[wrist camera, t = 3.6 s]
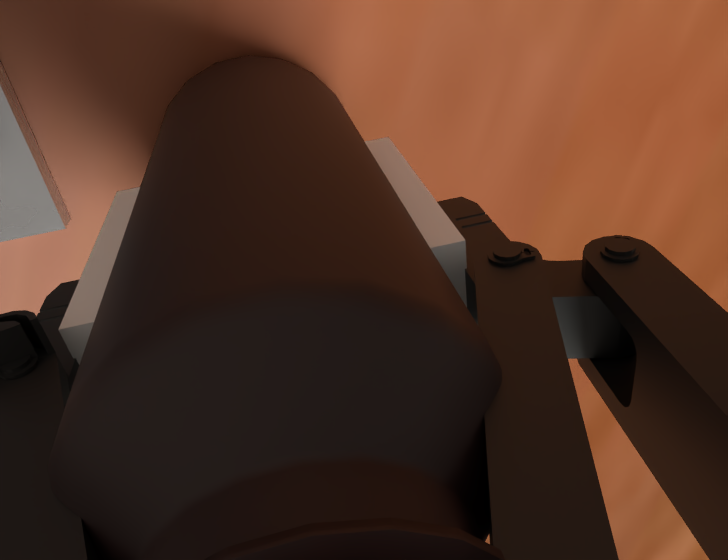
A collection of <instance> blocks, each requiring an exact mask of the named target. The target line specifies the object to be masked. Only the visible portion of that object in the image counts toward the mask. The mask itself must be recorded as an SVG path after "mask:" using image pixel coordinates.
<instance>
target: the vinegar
mask: <svg viewBox="0 0 728 560" xmlns="http://www.w3.org/2000/svg"><path fill="white" fill-rule="evenodd" d="M501 383H502V369H501V367H500V364H499V362H498V360H497V358H496V356H495V354H494V352H493V350H492V348H491V347H490V345H489V343H488V341H487V339H486V338H485V336H484V334H483V333H482V331H481V330H480V328H479V326H478V325H477V323H476V321H475V320H474V318H473V317H472V315H471V313H470V312H469V310H468V308H467V307H466V305H465V304H464V302H463V300H462V299H461V297H460V296H459V294H458V292H457V291H456V289H455V287H454V286H453V284H452V283H451V281H450V279H449V278H448V276H447V274H446V273H445V271H444V270H443V268H442V266H441V265H440V263H439V262H438V260H437V258H436V257H435V255H434V253H433V252H432V250H431V249H430V247H429V245H428V244H427V242H426V240H425V239H424V237H423V236H422V234H421V232H420V231H419V229H418V228H417V226H416V224H415V223H414V221H413V219H412V218H411V216H410V215H409V213H408V211H407V210H406V208H405V206H404V205H403V203H402V202H401V200H400V198H399V197H398V195H397V193H396V192H395V190H394V189H393V187H392V185H391V184H390V182H389V181H388V179H387V177H386V176H385V174H384V172H383V171H382V169H381V168H380V166H379V164H378V163H377V161H376V159H375V158H374V156H373V155H372V153H371V151H370V150H369V148H368V147H367V145H366V143H365V142H364V140H363V138H362V137H361V135H360V134H359V132H358V130H357V129H356V127H355V125H354V124H353V122H352V121H351V119H350V117H349V116H348V114H347V113H346V111H345V109H344V108H343V106H342V104H341V103H340V101H339V100H338V98H337V96H336V95H335V94H334V93H333V92H332V91H331V90H330V89H329V88H328V87H327V86H326V85H325V84H324V83H322V82H321V81H320V80H319V79H318V78H317V77H316V76H315V75H314V74H313V73H311V72H309V71H307V70H305V69H303V68H300V67H298V66H296V65H294V64H292V63H289V62H287V61H285V60H283V59H277V58H267V57H258V56H244V57H240V58H235V59H231V60H226V61H222V62H218V63H215V64H213V65H212V66H210V67H208V68H207V69H205V70H204V71H202V72H200V73H199V74H197V75H196V76H194V77H192V78H191V79H189V80H188V81H187V82H186V83H185V85H184V86H183V87H182V89H181V90H180V91H179V92H178V94H177V95H176V96H175V98H174V99H173V100H172V101H171V103H170V104H169V105H168V108H167V111H166V113H165V116H164V119H163V122H162V125H161V128H160V131H159V134H158V137H157V140H156V143H155V146H154V149H153V151H152V154H151V157H150V160H149V163H148V166H147V169H146V172H145V175H144V178H143V181H142V184H141V186H140V189H139V192H138V195H137V198H136V201H135V204H134V207H133V210H132V213H131V216H130V219H129V222H128V224H127V227H126V230H125V233H124V236H123V239H122V242H121V245H120V248H119V251H118V254H117V257H116V259H115V262H114V265H113V268H112V271H111V274H110V277H109V280H108V283H107V286H106V289H105V292H104V295H103V297H102V300H101V303H100V306H99V309H98V312H97V315H96V318H95V321H94V324H93V327H92V330H91V332H90V335H89V338H88V341H87V344H86V347H85V350H84V353H83V356H82V359H81V362H80V365H79V368H78V370H77V373H76V376H75V379H74V382H73V385H72V388H71V391H70V394H69V397H68V400H67V403H66V406H65V409H64V413H63V416H62V419H61V422H60V425H59V428H58V432H57V435H56V438H55V441H54V444H53V447H52V451H51V454H50V457H49V464H48V473H49V479H50V484H51V488H52V492H53V493H54V494H55V495H56V497H57V498H58V499H59V500H60V501H61V502H62V503H63V504H65V505H66V506H67V507H68V508H69V509H70V510H72V511H73V512H74V513H75V514H76V515H78V516H79V517H81V519H82V522H83V524H84V526H85V528H86V530H87V533H88V535H89V537H90V539H91V542H92V544H93V546H94V548H95V550H96V553H97V555H98V557H99V559H100V560H505V558H504V556H503V553H502V551H501V550H500V549H498V548H496V547H494V546H492V545H490V544H488V543H486V542H485V541H486V539H487V537H488V535H489V527H490V521H489V498H488V476H487V457H486V438H485V419H484V414H485V413H486V411H487V409H488V408H489V406H490V404H491V403H492V401H493V399H494V398H495V396H496V394H497V392H498V390H499V388H500V385H501Z"/></svg>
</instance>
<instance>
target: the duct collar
mask: <svg viewBox="0 0 728 560" xmlns="http://www.w3.org/2000/svg"><path fill="white" fill-rule="evenodd" d="M70 220H71V218H70V216H69V214H68V211H67V209H66V207H65V205H64V202H63V200H62V198H61V196H60V193H59V191H58V189H57V187H56V184H55V182H54V180H53V178H52V175H51V173H50V171H49V169H48V166H47V164H46V162H45V160H44V157H43V155H42V153H41V151H40V149H39V146H38V144H37V142H36V140H35V137H34V135H33V133H32V131H31V128H30V126H29V124H28V122H27V119H26V117H25V115H24V113H23V110H22V108H21V106H20V104H19V101H18V99H17V97H16V95H15V92H14V90H13V88H12V86H11V84H10V81H9V79H8V77H7V75H6V72H5V70H4V68H3V66H2V63H1V61H0V242H3V241H8V240H13V239H17V238H22V237H27V236H32V235H37V234H42V233H47V232H52V231H57V230H61V229H66V227H67V225H68V223H69V222H70Z"/></svg>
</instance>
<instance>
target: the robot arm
mask: <svg viewBox="0 0 728 560" xmlns="http://www.w3.org/2000/svg"><path fill="white" fill-rule="evenodd" d="M365 143H366V145H367V147H368V148H369V150H370V151H371V153H372V155H373V156H374V158H375V159H376V161H377V163H378V164H379V166H380V168H381V169H382V171H383V172H384V174H385V176H386V177H387V179H388V181H389V182H390V184H391V185H392V187H393V189H394V190H395V192H396V193H397V195H398V197H399V198H400V200H401V202H402V203H403V205H404V206H405V208H406V210H407V211H408V213H409V215H410V216H411V218H412V219H413V221H414V223H415V224H416V226H417V228H418V229H419V231H420V232H421V234H422V236H423V237H424V239H425V240H426V242H427V244H428V245H429V247H430V249H431V250H432V252H433V253H434V255H435V257H436V258H437V260H438V262H439V263H440V265H441V266H442V268H443V270H444V271H445V273H446V274H447V276H448V278H449V279H450V281H451V283H452V284H453V286H454V287H455V289H456V291H457V292H458V294H459V296H460V297H461V299H462V300H463V302H464V304H465V305H466V307H467V308H468V310H469V312H470V313H471V315H472V317H473V318H474V320H475V321H476V323H477V325H478V326H479V328H480V330H481V331H482V333H483V334H484V336H485V338H486V339H487V341H488V343H489V345H490V347H491V348H492V350H493V352H494V354H495V356H496V358H497V360H498V362H499V364H500V367H501V369H502V383H501V385H500V388H499V390H498V392H497V394H496V396H495V398H494V399H493V401H492V403H491V404H490V406H489V408H488V409H487V411H486V413H485V414H484V419H485V438H486V457H487V476H488V498H489V521H490V527H489V534H490V545H492V546H494V547H496V548H498V549H500V550H501V551H502V553H503V556H504V558H505V560H619V559H618V555H617V551H616V547H615V543H614V539H613V535H612V531H611V527H610V524H609V520H608V516H607V512H606V508H605V504H604V500H603V496H602V492H601V488H600V484H599V480H598V476H597V472H596V468H595V464H594V460H593V457H592V453H591V449H590V445H589V441H588V437H587V433H586V429H585V425H584V421H583V417H582V413H581V409H580V405H579V401H578V397H577V393H576V390H575V386H574V382H573V378H572V374H571V370H570V366H569V362H568V358H577V360H578V363H579V365H580V366H581V368H582V369H583V371H584V372H585V374H586V375H587V377H588V378H589V380H590V381H591V383H592V384H593V386H594V387H595V389H596V390H597V392H598V393H599V394H600V396H601V397H602V399H603V400H604V402H605V403H606V405H607V406H608V408H609V409H610V411H611V412H612V414H613V415H614V417H615V418H616V420H617V421H618V423H619V424H620V426H621V427H622V429H623V430H624V432H625V433H626V435H627V436H628V438H629V439H630V441H631V442H632V444H633V445H634V447H635V448H636V450H637V451H638V453H639V454H640V456H641V457H642V459H643V460H644V462H645V463H646V465H647V466H648V468H649V469H650V471H651V472H652V474H653V475H654V477H655V478H656V480H657V481H658V483H659V484H660V486H661V487H662V489H663V490H664V492H665V493H666V495H667V496H668V498H669V499H670V501H671V502H672V504H673V505H674V507H675V508H676V510H677V511H678V513H679V514H680V516H681V517H682V519H683V520H684V522H685V523H686V525H687V526H688V528H689V529H690V531H691V532H692V534H693V535H694V537H695V538H696V540H697V541H698V543H699V544H700V546H701V547H702V549H703V550H704V552H705V553H706V555H707V556H708V558H709V559H710V560H728V312H726V311H725V310H724V309H723V308H722V307H721V306H720V305H718V304H717V303H716V302H715V301H714V300H713V299H712V298H711V297H709V296H708V295H707V294H706V293H705V292H704V291H703V290H702V289H700V288H699V287H698V286H697V285H696V284H695V283H694V282H693V281H691V280H690V279H689V278H688V277H687V276H686V275H685V274H683V273H682V272H681V271H680V270H679V269H678V268H677V267H676V266H674V265H673V264H672V263H671V262H670V261H669V260H668V259H667V258H665V257H664V256H663V255H662V254H661V253H660V252H659V251H657V250H656V249H655V248H654V247H653V246H651V245H650V244H648V243H646V242H645V241H643V240H639V239H636V238H632V237H630V236H622V235H614V236H607V237H601V238H598V239H595V240H592V241H591V242H589V243H588V244H587V245H585V248H584V250H583V259H582V260H573V261H547V260H542V256H541V254H540V253H539V251H538V250H537V249H536V248H534V247H532V246H531V245H529V244H525V243H521V242H514V241H510V240H509V239H508V238H507V237H506V236H505V235H504V233H503V232H502V231H501V230H500V229H499V228H498V227H497V225H496V224H495V223H494V222H492V220H491V219H490V218H489V216H488V215H487V214H485V212H484V211H483V210H482V208H481V207H480V206H479V205H478V204H477V203H475V202H473V201H471V200H468V199H466V198H464V197H458V198H453V199H448V200H443V201H439V202H437V201H436V200H435V199H434V197H433V196H432V195H431V193H430V192H429V191H428V189H427V188H426V187H425V185H424V184H423V183H422V181H421V180H420V179H419V177H418V176H417V174H416V173H415V172H414V170H413V169H412V168H411V166H410V165H409V164H408V162H407V161H406V160H405V158H404V157H403V156H402V154H401V153H400V152H399V150H398V149H397V148H396V146H395V145H394V144H393V142H392V141H391V140H390V138H389V137H386V138H381V139H376V140H371V141H366V142H365ZM139 189H140V187H137V188H132V189H127V190H122V191H117V193H116V195H115V197H114V200H113V202H112V205H111V207H110V209H109V212H108V214H107V216H106V219H105V221H104V223H103V226H102V228H101V230H100V233H99V235H98V238H97V240H96V242H95V245H94V247H93V249H92V252H91V254H90V256H89V259H88V261H87V263H86V266H85V268H84V271H83V273H82V275H81V278H80V280H75V281H70V282H66V283H61V284H60V285H59V286H58V287H57V288H56V289H54V290H53V291H52V292H51V293H50V294H49V295H48V296H47V297H46V299H45V301H44V303H43V305H42V307H41V309H40V313H38V315H37V317H36V315H35V314H34V313H33V312H29V311H26V310H23V311H12V312H8V313H4V314H0V560H100V559H99V557H98V555H97V553H96V550H95V548H94V546H93V544H92V542H91V539H90V537H89V535H88V533H87V530H86V528H85V526H84V524H83V522H82V519H81V517H79V516H78V515H76V514H75V513H74V512H73V511H72V510H70V509H69V508H68V507H67V506H66V505H65V504H63V503H62V502H61V501H60V500H59V499H58V498H57V497H56V495H55V494H54V493H53V492H52V488H51V484H50V479H49V473H48V464H49V457H50V454H51V451H52V447H53V444H54V441H55V438H56V435H57V432H58V428H59V425H60V422H61V419H62V416H63V413H64V409H65V406H66V403H67V400H68V397H69V394H70V391H71V388H72V385H73V382H74V379H75V376H76V373H77V370H78V368H79V365H80V362H81V359H82V356H83V353H84V350H85V347H86V344H87V341H88V338H89V335H90V332H91V330H92V327H93V324H94V321H95V318H96V315H97V312H98V309H99V306H100V303H101V300H102V297H103V295H104V292H105V289H106V286H107V283H108V280H109V277H110V274H111V271H112V268H113V265H114V262H115V259H116V257H117V254H118V251H119V248H120V245H121V242H122V239H123V236H124V233H125V230H126V227H127V224H128V222H129V219H130V216H131V213H132V210H133V207H134V204H135V201H136V198H137V195H138V192H139Z"/></svg>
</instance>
